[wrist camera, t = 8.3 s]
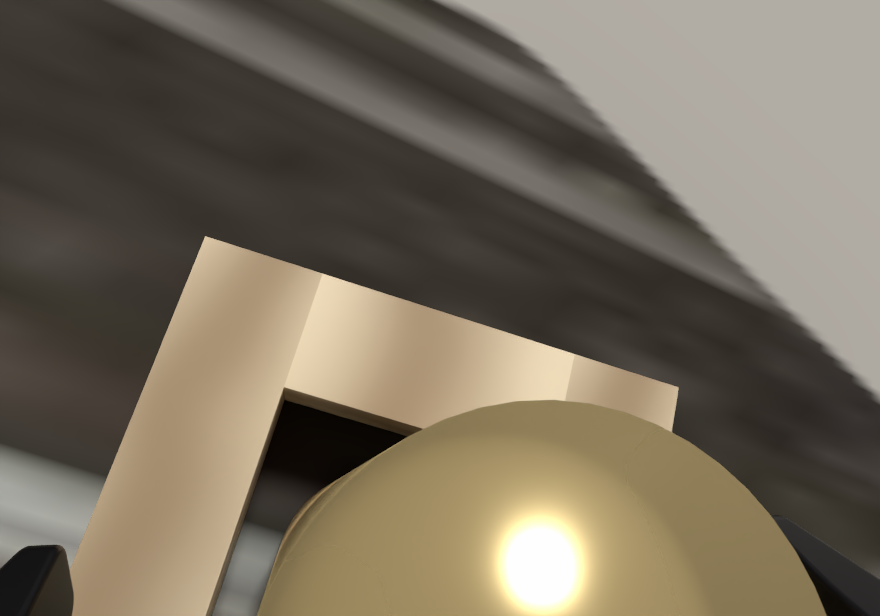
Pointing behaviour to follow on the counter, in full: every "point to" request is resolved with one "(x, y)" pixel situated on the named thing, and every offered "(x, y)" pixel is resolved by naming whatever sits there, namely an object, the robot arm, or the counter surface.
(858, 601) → the robot arm
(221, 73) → the counter surface
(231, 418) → the jig
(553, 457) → the brass cylinder peg
